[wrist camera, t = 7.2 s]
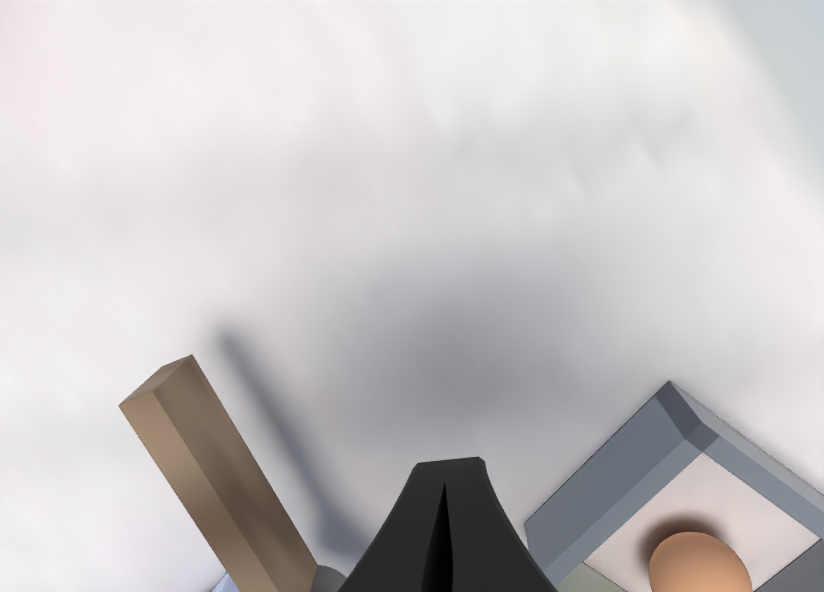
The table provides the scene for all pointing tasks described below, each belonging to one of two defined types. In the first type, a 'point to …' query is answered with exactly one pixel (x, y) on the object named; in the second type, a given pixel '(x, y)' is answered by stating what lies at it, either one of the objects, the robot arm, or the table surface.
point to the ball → (697, 566)
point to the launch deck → (586, 581)
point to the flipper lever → (222, 483)
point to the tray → (651, 471)
